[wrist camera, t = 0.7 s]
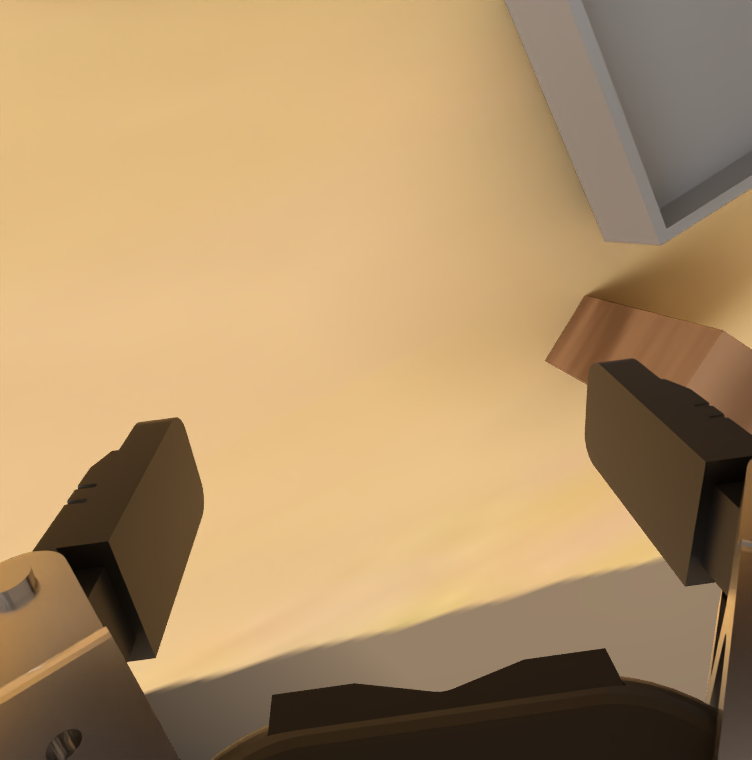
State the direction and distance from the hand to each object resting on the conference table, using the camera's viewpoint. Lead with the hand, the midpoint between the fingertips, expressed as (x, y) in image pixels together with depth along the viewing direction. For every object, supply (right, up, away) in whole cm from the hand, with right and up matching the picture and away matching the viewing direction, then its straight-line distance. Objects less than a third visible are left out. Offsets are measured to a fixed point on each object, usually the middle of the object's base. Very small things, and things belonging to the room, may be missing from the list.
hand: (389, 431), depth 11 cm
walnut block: (+15, +3, +27) cm, 31 cm away
